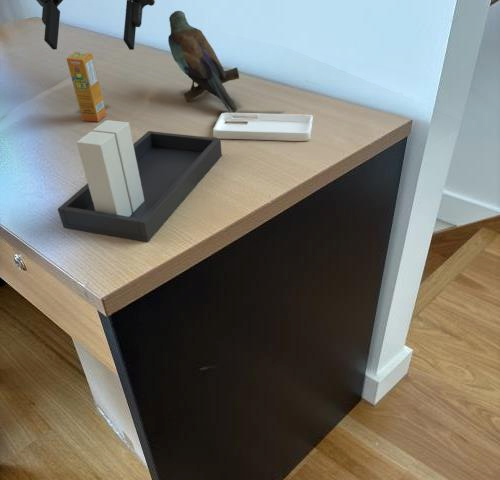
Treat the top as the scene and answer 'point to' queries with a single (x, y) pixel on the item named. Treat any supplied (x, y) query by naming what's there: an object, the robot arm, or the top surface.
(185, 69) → the bird figurine
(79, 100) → the supplement box
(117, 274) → the top surface
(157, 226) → the tray
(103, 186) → the white boxes
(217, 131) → the phone case
